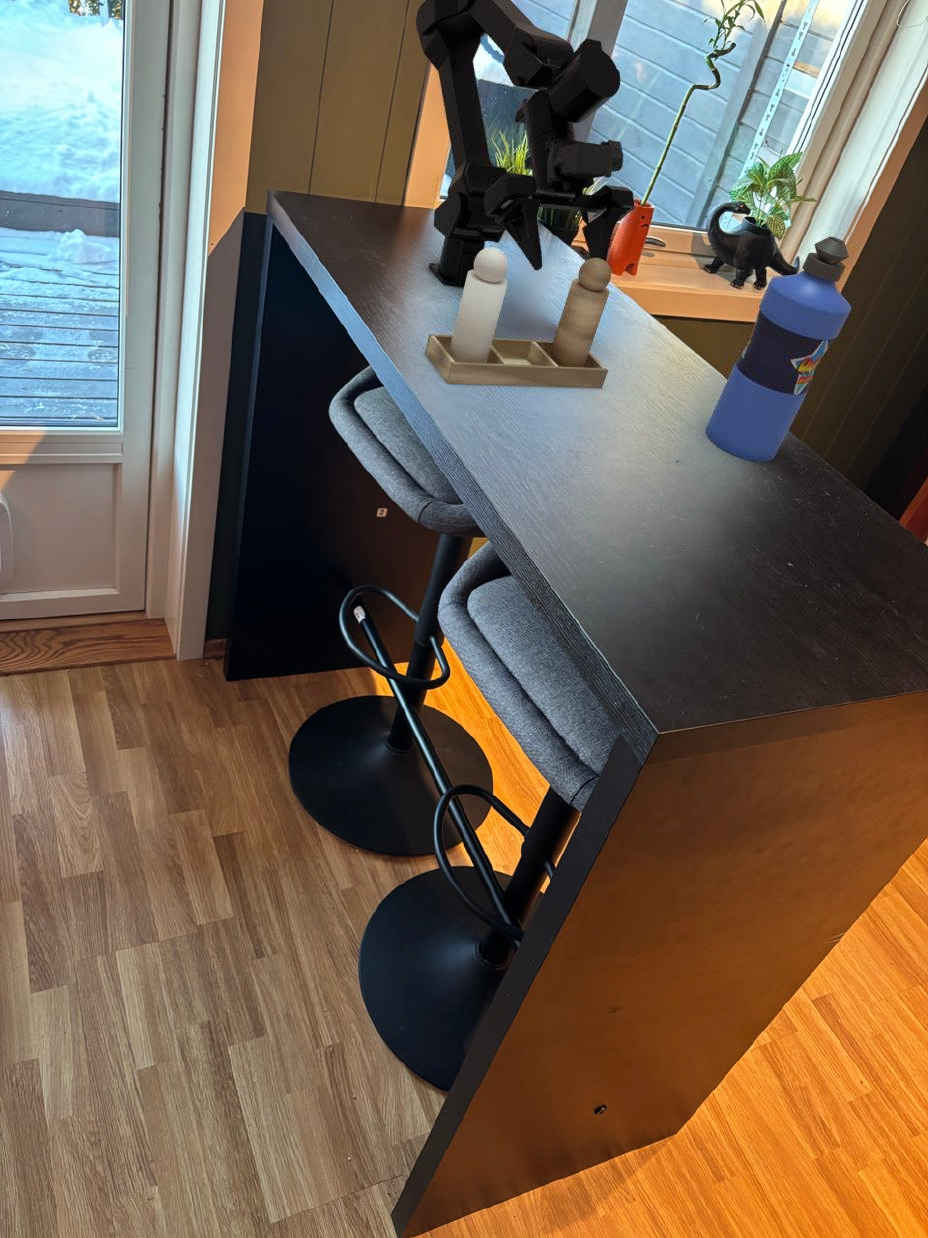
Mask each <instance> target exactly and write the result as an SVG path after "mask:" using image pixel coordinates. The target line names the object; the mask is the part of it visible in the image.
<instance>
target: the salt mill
mask: <svg viewBox="0 0 928 1238" xmlns="http://www.w3.org/2000/svg"><path fill="white" fill-rule="evenodd" d="M508 269H509V261H508V257H507V255H506V254H505V253H504V252H503V250H501V249H499V248H498V247H492V246H489V247H486V248H485V247H484V249H483V250H481V251H480V252H479V253H478V254H477V256H476V258H475V261H474V270H470V271H468V274H467V278H466V282H465V286H463V291H462V295H461V299H460V303H459V307H458V313H457V316H456V318H455V319H456V320H455V323H454V329H453V332H452V335H453V336H452V340H451V344H450V348H449V355H450V356H451V357H452V358H453V360H454V361H455V362H467V363H487V359H488V355H489V351H490V348H491V344H492V340H493V338H495V337H494V336H495V332H496V330H497V325H498V321H499V317H500V313H501V310H502V308H503V307H502V306H503V303H504V298H505V296H506V292H507V288H508V284H509V282H508V281H507V279H506V278H505V277H506V275H507V273H508V271H509V270H508Z"/></svg>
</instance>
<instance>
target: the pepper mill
mask: <svg viewBox="0 0 928 1238" xmlns="http://www.w3.org/2000/svg"><path fill="white" fill-rule="evenodd" d="M577 275H578V277H577V278H574V279H573V280H572V281H571V284H570V287H569V290H568V294H567V297H566V300H565V303H564V305H563V306H564V307H563V309H562V312H561V316H560V319H559V321H558V324H557V327H556V332H555V334H554V337H553V340H552V341H553V344H552V347H551V350H550V353H549V357H550V358H551V359H552V360H553V361H554V362H555V363H556V364H557V365H558V366H561V367H584V366H585V363H586V360H587V357H588V354H589V352H590V351H591V347H592V345H593V342H594V339H595V336H596V333H597V330H598V328H599V324H600V322H601V318H602V315H603V314H604V313H603V312H604V310H605V307H606V304H607V301H608V298H609V295H610V290H609V289H608V288H607V287H608V286H609V284H610V281H611V278H612V270H611V267H610V265H609V264H608V262H607V261H606V262H605V261H604V260H602V259H600V258H589V259H587V260H585V261H584V262H583V263H582V264H581V266H580V268H579V270H578V274H577Z"/></svg>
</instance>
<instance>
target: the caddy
mask: <svg viewBox="0 0 928 1238" xmlns="http://www.w3.org/2000/svg"><path fill="white" fill-rule="evenodd" d="M452 336H453V334H452V335H451V334H437V333H436V334H435V333H433V334H432V333H429V334H428V339H427V343H426V346H425V351H424V354H425V356H426V357H427V358H428V360H429V361H430V362H431V363H432V365H433V366H434V367H435V369H436V370H437V371H438V372H439V374H440V375H441V377H442V378H443V379H444V381H445V382H446V383H447V384H448V385H450V384H451V385H475V386H481V385H482V386H483V385H484V386H509V387H512V386H513V387H515V386H517V387H538V388H539V387H541V388H542V387H546V388H547V387H548V388H575V389H578V388H579V389H603V386H604V383H605V381H606V378H607V376H608V373H609V369H608V368H607V367H606V366H605V365H604V364H603V363H602V362H601V361H599V359H597V357H595V355H594V354H592V353H591V352H590V351H589V354H588V357H587V360H586V363H585V366H584V367H561V366H558V365H557V364H556V363H555V362H554V361H553V360H552V359H551V358H550V357H549V353H550V350H551V347H552V344H553V340H543V339H542V340H541V339H540V340H539V339H526V338H525V339H524V338H506V337H505V338H504V337H503V338H502V337H493V340H492V344H491V348H490V351H489V355H488V359H487V363H467V362H455V361H454V360H453V358H452V357H451V356H450V355H449V348H450V344H451V340H452Z"/></svg>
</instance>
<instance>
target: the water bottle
mask: <svg viewBox="0 0 928 1238" xmlns="http://www.w3.org/2000/svg"><path fill="white" fill-rule="evenodd" d="M814 249H815V252H809V253H807V256H806V258H805V261H804V263H803V265H802V271H800V272H798V273H795V274H789V275H779V276H773V277H772V278H771V279H770V281H769V283H768V285H767V288H766V289H765V291H764V295H763V296H762V299H761V301H760V304H759V307H758V308H759V309H758V313H757V316H756V320H755V323H754V327H753V328H752V330H751V331H752V332H751V334H750V338H749V341H748V343H747V344H746V345H745V348H744V349H743V351H742V352H741V353H740V356H739V357H738V359H737V360H736V362H735V364H734V365H733V368H732V369H731V372H730V374H729V377H728V378H727V381H726V383H725V385H724V388H722V389H723V390H722V392H721V394H720V397H719V398H718V401H717V403H716V405H715V407H714V409H713V412H712V414H711V417H710V418H709V421H708V423H707V425H706V427H705V435H706V437H707V439H708V440H710V442H712V443H713V445H714V446H716V447H717V448H719V449H721V450H722V451H724V452H725V453H728V454H729V455H732V456H734V457H737V458H739V459H742V460H747V461H750V462H751V461H752V462H758V463H759V462H760V463H766V462H770V461H772V460H774V459H775V457H776V455H777V454H778V451H779V450H780V447H781V446H782V443H783V441H784V439H785V438H786V436H787V434H788V432H789V430H790V427H791V426H792V424H793V422H794V420H795V417H796V415H797V414H798V411H799V410H800V408H801V406H802V404H803V402H804V400H805V397H806V395H807V394H808V391H809V389H810V385H811V383H812V379H813V376H814V373H815V370H816V367H817V366H818V365H819V364H820V362H821V360H822V358H823V356H824V355H825V353H827V350H828V349H829V347H830V345H831V344H832V343H833V341H834V340H835V339H836V338H837V337H838V336H839V334H840V333H841V330H842V328H843V326H844V325H845V322H846V320H847V318H848V316H849V314H850V312H851V311H852V306H851V305H850V302H849V301H847V299H846V298H845V297H844V296H843V295H842V294H841V293H840V291H839V290H838V288H837V284H836V282H839V281H840V279H841V277H842V275H843V273H844V271H845V269H846V265H845V264H844V263H843V261H844V260H846V259H848V258H849V257H850V255H849V252H848V249H847V245H846V243H845V241H844V240H843V239H841V238H838V237H834V236H828V237H826V238H823V239H821V240H819V241H818V242H816V243H814Z"/></svg>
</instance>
